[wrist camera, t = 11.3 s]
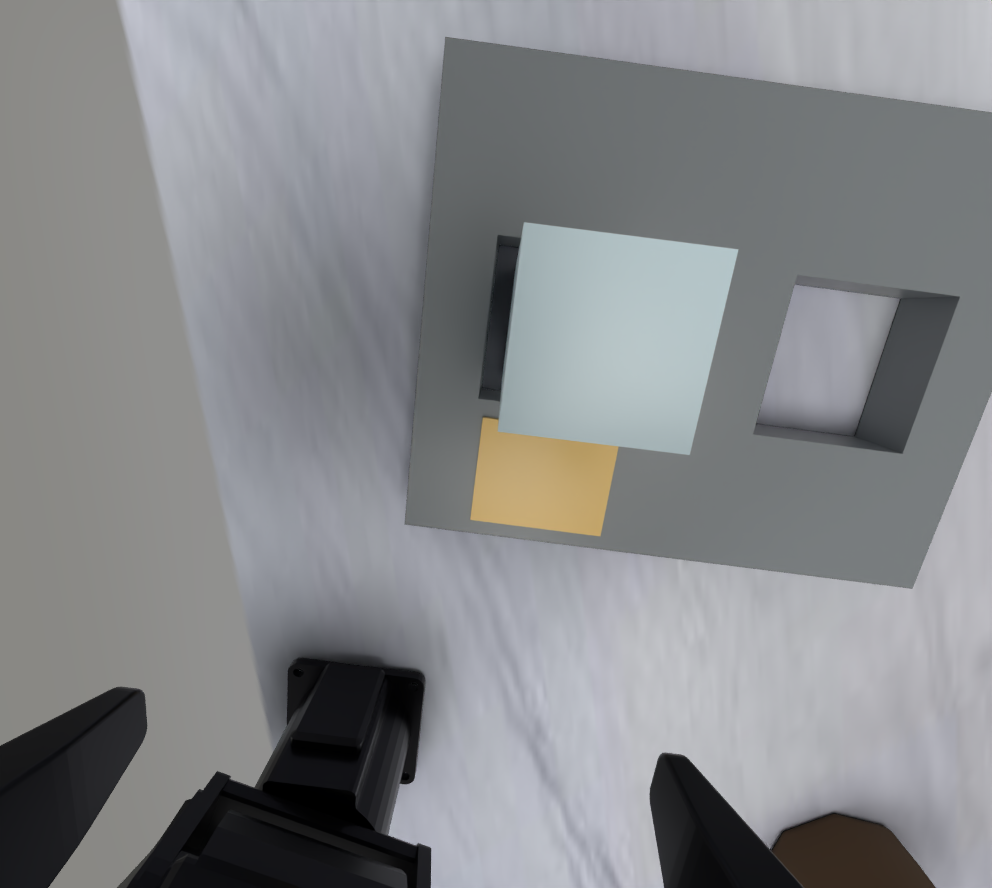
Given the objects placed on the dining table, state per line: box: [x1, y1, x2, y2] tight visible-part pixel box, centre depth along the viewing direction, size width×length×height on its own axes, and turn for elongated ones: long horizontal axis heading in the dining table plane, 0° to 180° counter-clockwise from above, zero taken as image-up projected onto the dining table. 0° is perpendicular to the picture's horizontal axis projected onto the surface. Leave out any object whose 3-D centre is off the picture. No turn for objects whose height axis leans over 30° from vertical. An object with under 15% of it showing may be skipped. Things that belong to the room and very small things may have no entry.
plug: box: [498, 222, 739, 455], centre depth 14 cm, size 4×4×10 cm
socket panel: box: [405, 37, 992, 589], centre depth 18 cm, size 16×20×3 cm
